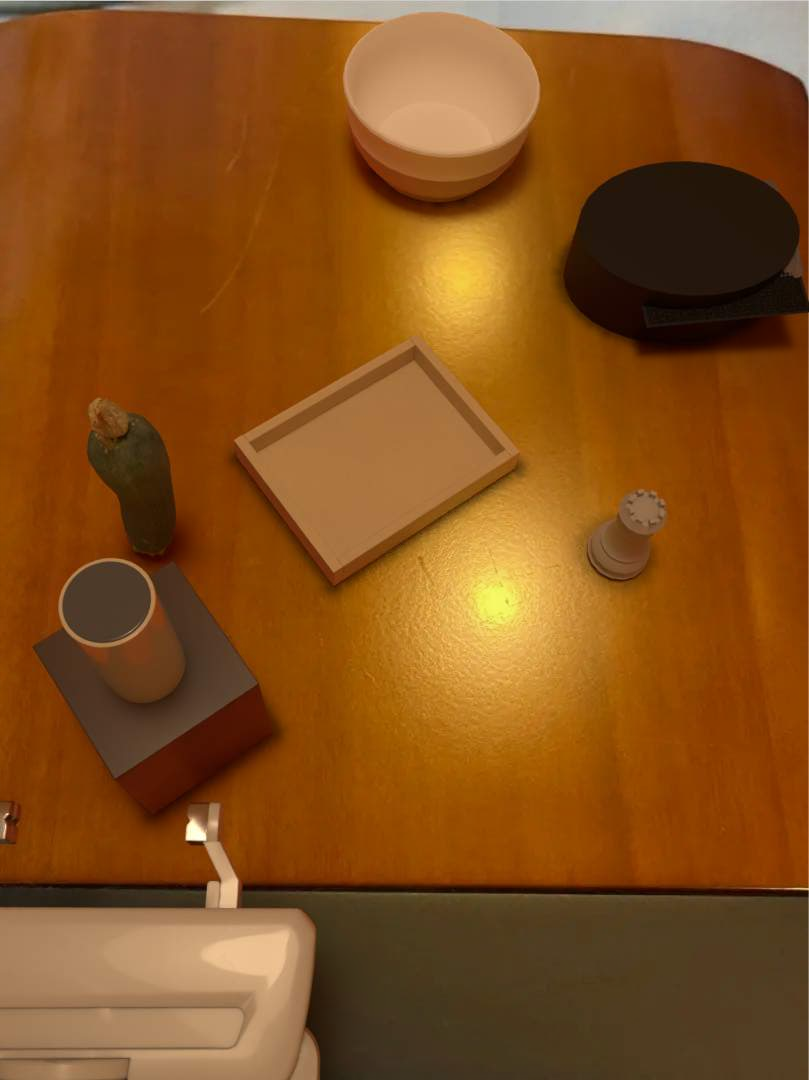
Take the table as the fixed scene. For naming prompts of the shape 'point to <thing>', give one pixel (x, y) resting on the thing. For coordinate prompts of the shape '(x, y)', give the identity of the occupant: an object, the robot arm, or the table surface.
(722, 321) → the black flat-topped cap
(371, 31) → the bowl
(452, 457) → the tray
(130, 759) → the pedestal
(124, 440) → the vegetable
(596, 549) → the rook chess piece
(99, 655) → the cylinder
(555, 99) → the table surface
